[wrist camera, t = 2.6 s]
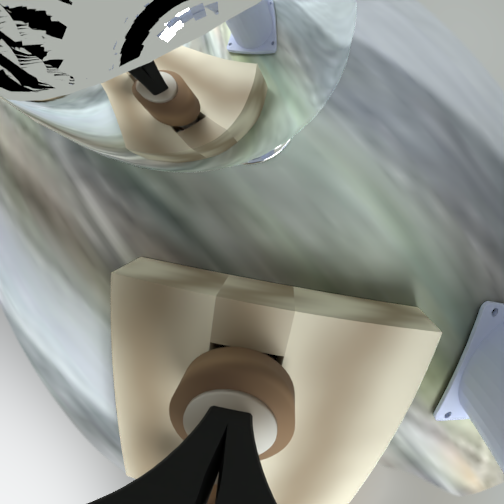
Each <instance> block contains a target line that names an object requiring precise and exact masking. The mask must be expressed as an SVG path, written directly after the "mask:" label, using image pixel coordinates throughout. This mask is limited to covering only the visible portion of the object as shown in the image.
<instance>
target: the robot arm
mask: <svg viewBox="0 0 504 504" xmlns="http://www.w3.org/2000/svg"><path fill="white" fill-rule="evenodd" d="M494 309H495V310H494ZM493 310H494V312H493V313H492V311H493ZM446 413H447V414H446ZM433 416H434V418H435V419H436V420H438V421H441V420H459V419H470V420H471V421H472V423H473V424H474V426H475V427H476V429H477V430H478V432H479V434H480V435H481V437H482V438H483V440H484V442H485V443H486V445H487V446H488V448H489V450H490V451H491V453H492V455H493V456H494V458H495V460H496V461H497V463H498V465H499V466H500V468H501V470H502V472H503V473H504V303H498V302H492V301H486V302H484V303H483V304H482V305H481V307H480V310H479V313H478V316H477V318H476V321H475V324H474V327H473V329H472V332H471V334H470V337H469V339H468V342H467V344H466V347H465V349H464V352H463V354H462V356H461V359H460V361H459V363H458V365H457V368H456V370H455V372H454V374H453V376H452V378H451V380H450V382H449V384H448V386H447V388H446V390H445V392H444V394H443V396H442V398H441V400H440V402H439V404H438V406H437V408H436V409H435V411H434V414H433ZM218 473H219V475H218ZM217 475H218V483H217V490H216V499H215V504H277V503H276V501H275V499H274V497H273V494H272V492H271V490H270V487H269V485H268V482H267V480H266V477H265V474H264V472H263V468H262V465H261V462H260V458H259V455H258V451H257V447H256V443H255V437H254V431H253V416H252V415H251V413H248V412H243V411H237V410H232V409H227V408H223V407H218V406H214V405H213V406H211V407H210V408H209V409H208V411H207V413H206V414H205V416H204V417H203V418H202V420H201V421H200V422H199V424H198V425H197V426H196V427H195V428H194V430H193V431H192V432H191V433H190V434H189V435H188V436H187V437H186V438H185V439H184V441H183V442H182V443H181V444H180V445H179V446H178V447H177V448H175V449H174V450H173V451H172V452H171V453H170V454H169V455H168V456H167V457H166V458H164V459H163V460H162V461H161V462H160V463H158V464H157V465H156V466H155V467H153V468H152V469H151V470H149V471H148V472H146V473H145V474H143V475H142V476H141V477H139V478H137V479H136V480H134V481H133V482H131V483H129V484H128V485H126V486H124V487H123V488H121V489H119V490H117V491H115V492H113V493H111V494H109V495H106V496H104V497H102V498H100V499H97V500H95V501H93V502H90V503H88V504H207V502H208V499H209V497H210V494H211V492H212V489H213V486H214V483H215V481H216V478H217Z"/></svg>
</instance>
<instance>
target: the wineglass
mask: <svg viewBox="0 0 504 504" xmlns="http://www.w3.org/2000/svg"><path fill="white" fill-rule="evenodd" d="M356 17H357V0H0V98H1V99H3V100H4V101H6V102H7V103H9V104H10V105H12V106H13V107H15V108H16V109H18V110H19V111H21V112H22V113H24V114H25V115H27V116H28V117H29V118H31V119H32V120H34V121H35V122H37V123H39V124H41V125H43V126H45V127H47V128H49V129H51V130H53V131H54V132H56V133H58V134H60V135H62V136H64V137H66V138H68V139H70V140H71V141H73V142H75V143H77V144H79V145H81V146H83V147H85V148H87V149H89V150H92V151H94V152H96V153H98V154H100V155H103V156H105V157H108V158H110V159H113V160H116V161H119V162H123V163H126V164H130V165H134V166H137V167H141V168H146V169H152V170H159V171H165V172H178V173H194V172H206V171H213V170H219V169H223V168H228V167H232V166H236V165H254V164H258V163H263V162H266V161H268V160H270V159H272V158H274V157H275V156H277V155H278V154H279V153H281V152H282V151H283V150H284V149H285V148H286V146H287V145H288V144H289V143H290V141H291V139H292V137H293V136H295V135H296V134H297V133H298V132H299V131H301V130H302V129H303V128H304V127H305V126H306V125H308V124H309V123H310V122H311V121H312V120H313V118H314V117H315V116H316V115H317V114H318V113H319V112H320V110H321V109H322V108H323V106H324V105H325V104H326V103H327V101H328V99H329V98H330V96H331V95H332V93H333V91H334V90H335V88H336V86H337V85H338V83H339V81H340V78H341V76H342V73H343V71H344V69H345V66H346V64H347V61H348V57H349V52H350V48H351V44H352V39H353V35H354V30H355V25H356Z"/></svg>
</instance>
